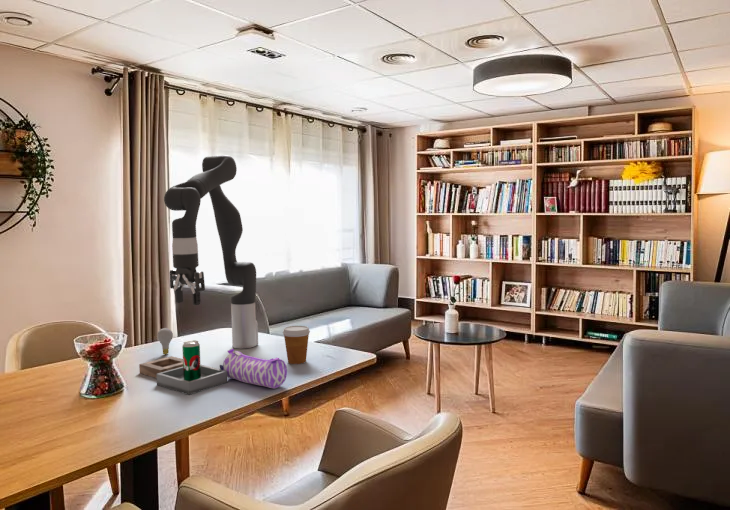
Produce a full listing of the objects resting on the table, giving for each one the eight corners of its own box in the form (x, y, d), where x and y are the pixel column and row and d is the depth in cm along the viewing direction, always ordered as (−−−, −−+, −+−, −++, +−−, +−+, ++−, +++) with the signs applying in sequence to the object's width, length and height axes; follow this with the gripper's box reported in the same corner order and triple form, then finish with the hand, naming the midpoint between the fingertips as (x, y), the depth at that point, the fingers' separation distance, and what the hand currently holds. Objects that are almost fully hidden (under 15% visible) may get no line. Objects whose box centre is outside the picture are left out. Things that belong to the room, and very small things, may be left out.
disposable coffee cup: (278, 364, 185) (277, 329, 184) (292, 357, 194) (291, 324, 193) (302, 366, 182) (301, 331, 181) (315, 359, 190) (314, 326, 190)
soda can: (203, 377, 167) (202, 340, 166) (196, 383, 162) (195, 344, 161) (188, 377, 168) (186, 339, 167) (180, 382, 163) (179, 343, 162)
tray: (195, 373, 175) (195, 363, 175) (227, 382, 166) (227, 371, 165) (156, 385, 164) (156, 373, 164) (189, 394, 154) (188, 382, 154)
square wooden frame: (171, 364, 186) (171, 356, 186) (193, 370, 179) (192, 361, 179) (139, 373, 176) (139, 364, 176) (161, 379, 169) (160, 370, 169)
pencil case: (219, 380, 168) (218, 351, 167) (241, 373, 175) (241, 344, 175) (269, 393, 155) (268, 361, 154) (291, 385, 162) (290, 354, 162)
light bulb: (176, 353, 201) (175, 327, 201) (165, 357, 196) (164, 330, 196) (165, 352, 204) (164, 326, 203) (154, 355, 199) (153, 328, 198)
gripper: (210, 252, 165) (212, 303, 167) (181, 250, 174) (183, 299, 175) (189, 254, 159) (192, 307, 161) (160, 252, 167) (163, 303, 169)
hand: (187, 303), depth 168 cm, fingers open, 8 cm apart
